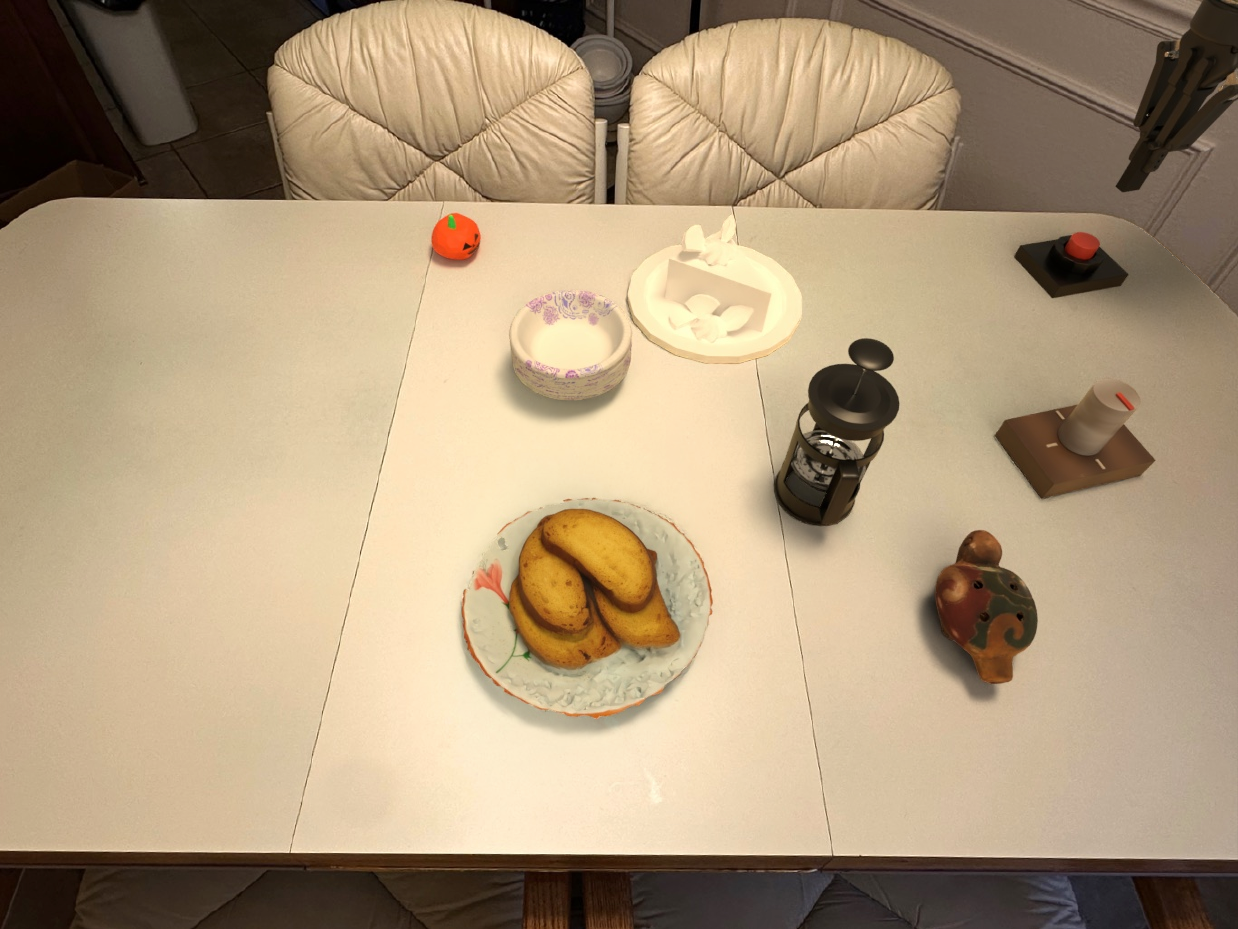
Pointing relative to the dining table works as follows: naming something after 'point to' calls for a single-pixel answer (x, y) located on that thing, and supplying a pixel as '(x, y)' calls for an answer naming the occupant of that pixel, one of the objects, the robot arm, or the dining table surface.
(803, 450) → the french press
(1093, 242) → the push knob
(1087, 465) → the dial panel
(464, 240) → the pumpkin
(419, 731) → the dining table surface
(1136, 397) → the dial
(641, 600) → the food on plate
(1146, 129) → the robot arm
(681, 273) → the dish
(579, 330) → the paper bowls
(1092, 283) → the button housing
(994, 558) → the painted clay ocarina
